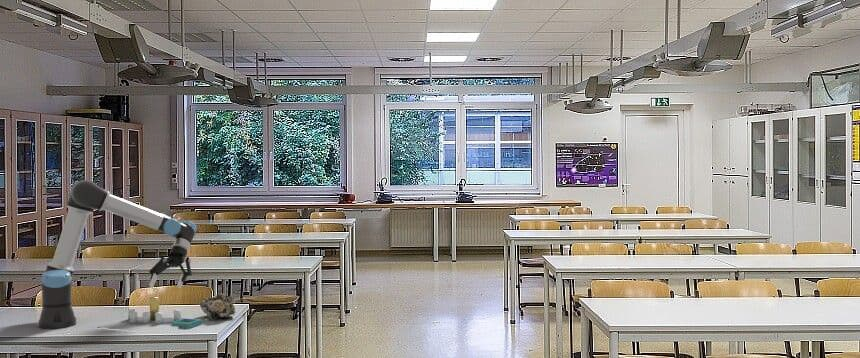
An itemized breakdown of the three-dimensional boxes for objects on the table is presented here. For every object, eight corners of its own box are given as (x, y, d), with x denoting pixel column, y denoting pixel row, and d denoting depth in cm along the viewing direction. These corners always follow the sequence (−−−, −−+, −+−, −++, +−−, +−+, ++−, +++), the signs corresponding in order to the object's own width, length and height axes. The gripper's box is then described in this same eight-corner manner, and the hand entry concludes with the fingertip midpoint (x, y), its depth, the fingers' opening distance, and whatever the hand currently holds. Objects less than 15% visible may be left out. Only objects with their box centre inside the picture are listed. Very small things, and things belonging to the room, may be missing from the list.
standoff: (148, 320, 370) (147, 297, 370) (153, 318, 374) (153, 296, 374) (155, 320, 369) (154, 298, 369) (161, 319, 373) (160, 296, 372)
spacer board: (117, 324, 365) (117, 312, 365) (134, 318, 379) (134, 306, 378) (170, 326, 360) (170, 314, 360) (186, 320, 374) (185, 308, 374)
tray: (171, 327, 359) (171, 322, 359) (184, 322, 368) (184, 318, 368) (188, 328, 356) (188, 323, 356) (201, 324, 364) (201, 319, 364)
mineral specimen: (233, 313, 390) (233, 291, 389) (236, 320, 373) (236, 297, 373) (198, 315, 385) (198, 293, 385) (200, 322, 368) (200, 300, 368)
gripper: (207, 255, 395) (193, 292, 380) (158, 254, 399) (142, 291, 385) (201, 245, 389) (187, 282, 375) (152, 244, 394) (136, 281, 379)
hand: (164, 287), depth 380 cm, fingers open, 13 cm apart
